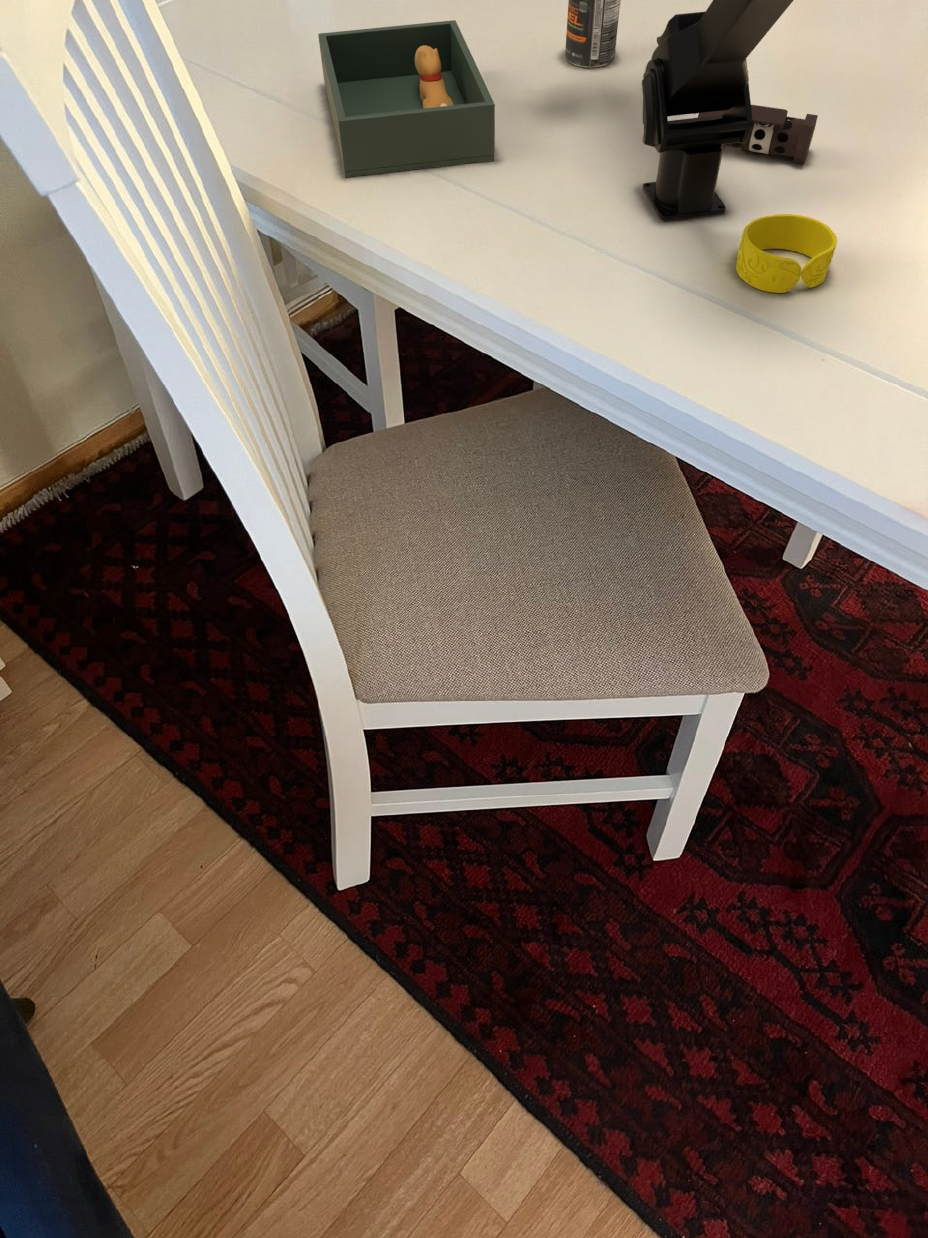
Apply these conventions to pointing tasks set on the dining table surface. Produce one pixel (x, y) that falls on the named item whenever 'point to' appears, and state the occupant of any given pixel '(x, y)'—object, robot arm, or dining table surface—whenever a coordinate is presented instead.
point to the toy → (431, 78)
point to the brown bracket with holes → (777, 132)
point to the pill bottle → (591, 32)
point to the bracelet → (792, 236)
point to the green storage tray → (404, 100)
